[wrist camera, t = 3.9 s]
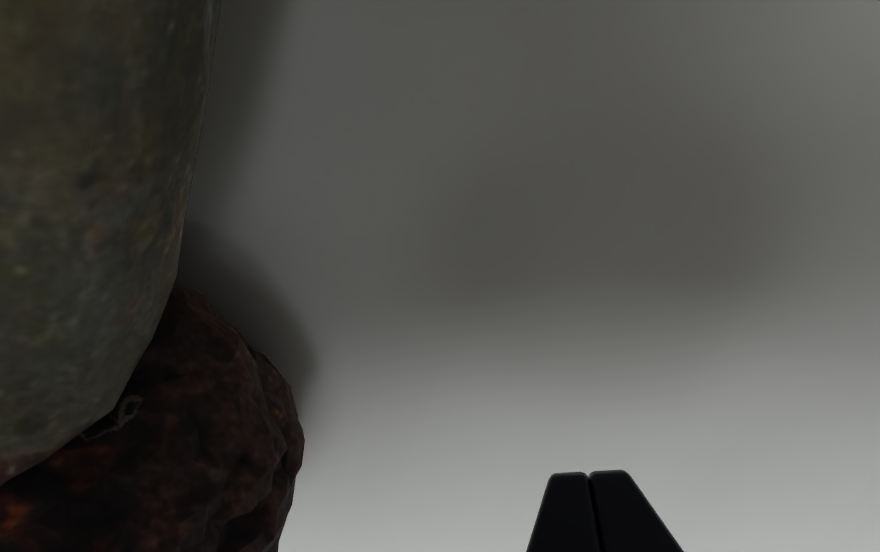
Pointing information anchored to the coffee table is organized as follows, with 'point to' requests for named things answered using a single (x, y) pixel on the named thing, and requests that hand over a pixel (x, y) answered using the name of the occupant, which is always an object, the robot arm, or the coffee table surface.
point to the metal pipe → (121, 299)
